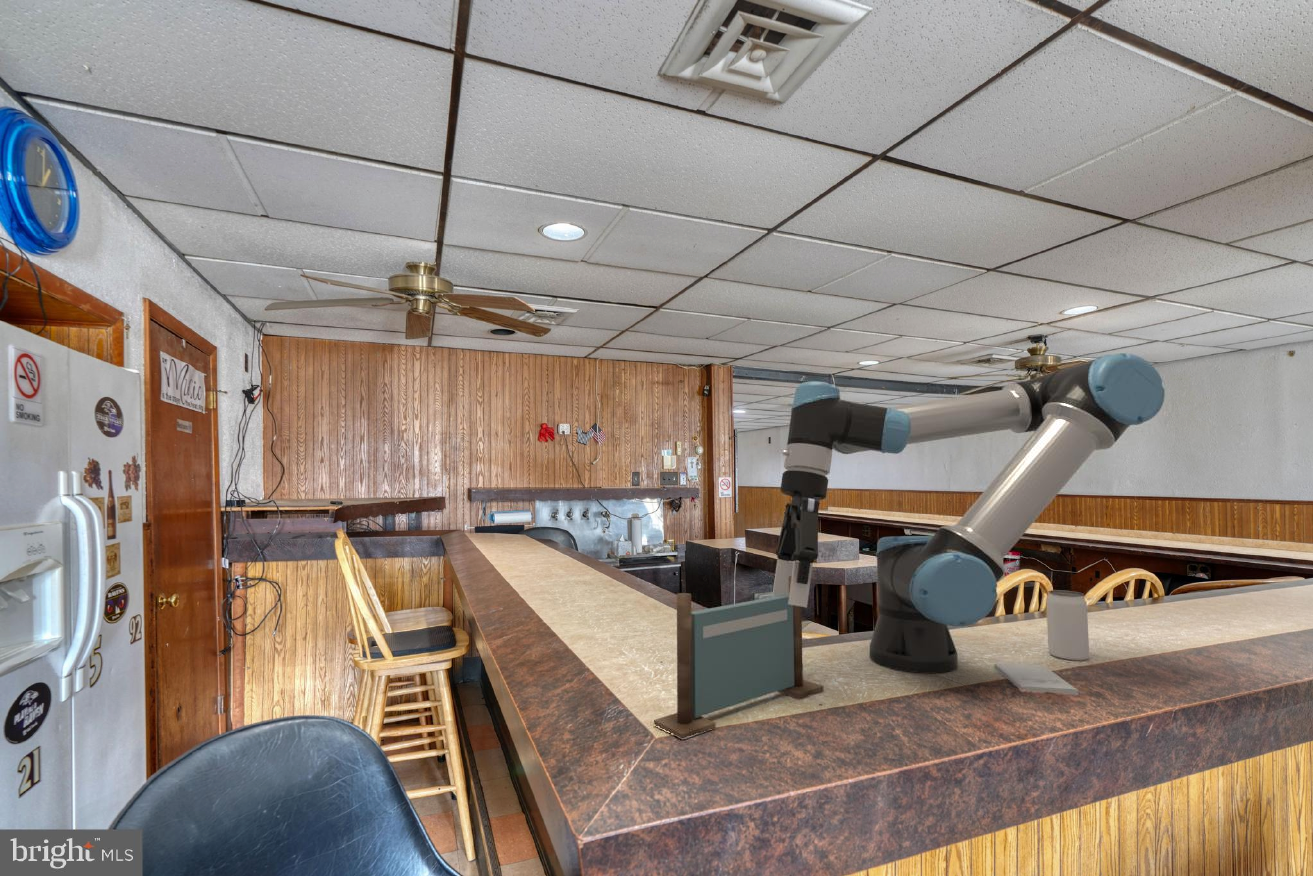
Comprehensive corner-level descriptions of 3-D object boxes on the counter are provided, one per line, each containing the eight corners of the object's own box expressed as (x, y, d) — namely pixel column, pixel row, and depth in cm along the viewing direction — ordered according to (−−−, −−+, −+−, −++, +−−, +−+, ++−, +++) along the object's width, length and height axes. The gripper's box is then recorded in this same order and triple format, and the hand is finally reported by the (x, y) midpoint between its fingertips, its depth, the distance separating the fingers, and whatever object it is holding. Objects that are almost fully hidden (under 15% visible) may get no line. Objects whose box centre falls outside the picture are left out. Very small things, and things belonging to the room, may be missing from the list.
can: (1097, 661, 112) (1094, 596, 113) (1062, 661, 113) (1059, 596, 113) (1074, 651, 119) (1071, 589, 120) (1041, 651, 119) (1038, 589, 120)
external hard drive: (1044, 674, 107) (1079, 699, 95) (994, 671, 109) (1021, 695, 97) (1044, 665, 107) (1078, 688, 95) (994, 662, 109) (1021, 684, 97)
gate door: (786, 682, 98) (784, 594, 99) (794, 685, 96) (793, 596, 97) (687, 714, 85) (687, 612, 86) (695, 718, 83) (695, 614, 84)
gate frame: (793, 681, 102) (792, 572, 103) (823, 690, 97) (821, 577, 98) (653, 726, 84) (653, 593, 85) (682, 740, 79) (681, 600, 80)
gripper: (770, 477, 114) (753, 592, 110) (800, 458, 90) (779, 604, 86) (810, 484, 114) (794, 599, 110) (850, 467, 89) (832, 614, 86)
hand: (788, 602), depth 98 cm, fingers open, 13 cm apart
